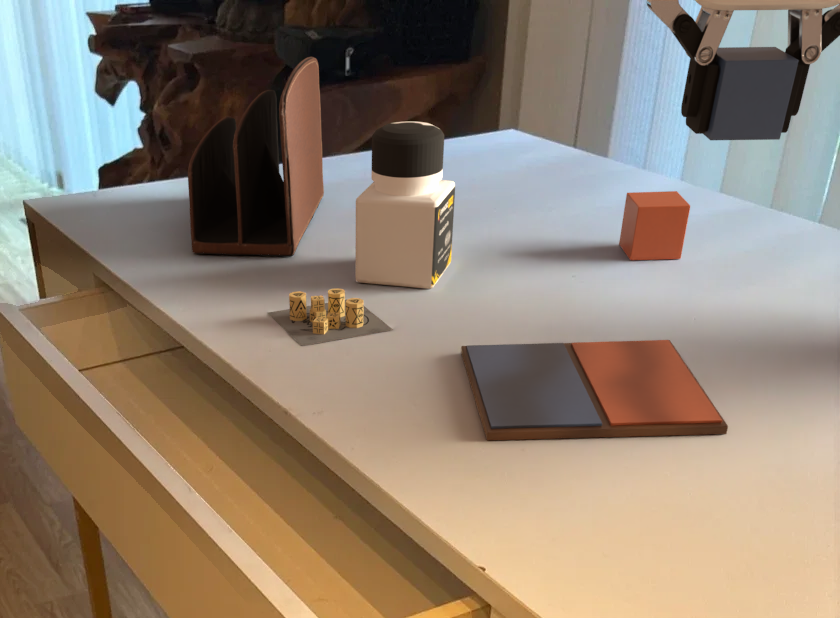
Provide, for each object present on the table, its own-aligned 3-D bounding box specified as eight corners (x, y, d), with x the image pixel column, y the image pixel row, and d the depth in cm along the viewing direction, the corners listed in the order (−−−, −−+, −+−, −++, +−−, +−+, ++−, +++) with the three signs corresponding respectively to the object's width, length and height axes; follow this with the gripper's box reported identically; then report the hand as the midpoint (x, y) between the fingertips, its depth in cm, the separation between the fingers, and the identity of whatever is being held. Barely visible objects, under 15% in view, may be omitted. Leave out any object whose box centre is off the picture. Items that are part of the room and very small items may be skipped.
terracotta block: (667, 243, 105) (677, 190, 102) (680, 259, 101) (690, 205, 98) (618, 244, 105) (626, 192, 102) (630, 260, 101) (638, 207, 98)
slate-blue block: (758, 123, 77) (775, 46, 74) (779, 139, 74) (799, 59, 71) (691, 124, 77) (706, 47, 74) (709, 140, 74) (726, 60, 71)
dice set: (286, 316, 93) (285, 292, 92) (343, 306, 95) (343, 283, 93) (308, 337, 90) (308, 313, 88) (367, 327, 91) (367, 303, 90)
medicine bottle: (433, 290, 97) (440, 138, 89) (354, 283, 99) (354, 133, 91) (451, 264, 102) (460, 118, 94) (376, 257, 104) (378, 114, 96)
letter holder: (324, 197, 119) (322, 45, 110) (294, 258, 104) (289, 88, 95) (233, 196, 121) (224, 45, 112) (190, 255, 106) (176, 87, 97)
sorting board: (668, 347, 86) (670, 337, 86) (726, 434, 75) (729, 423, 74) (460, 353, 86) (461, 342, 86) (486, 440, 75) (487, 429, 74)
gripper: (933, -228, 66) (841, 114, 78) (647, -223, 67) (598, 117, 78) (992, -229, 61) (883, 141, 72) (679, -224, 61) (621, 144, 73)
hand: (735, 125), depth 75 cm, fingers closed on slate-blue block, 4 cm apart
